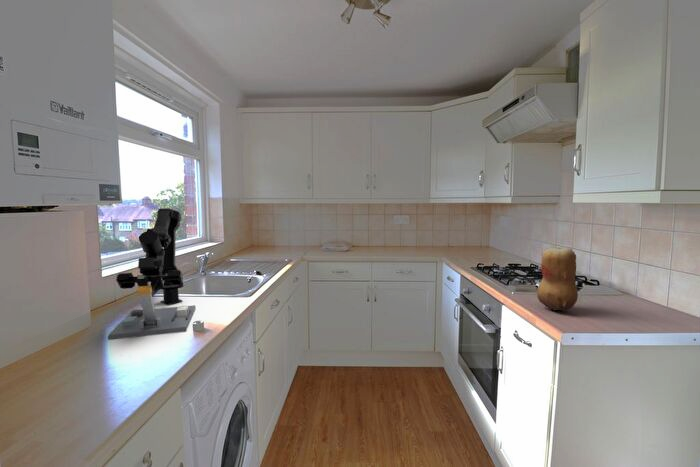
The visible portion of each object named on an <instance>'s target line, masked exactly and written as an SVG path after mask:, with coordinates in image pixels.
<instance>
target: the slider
mask: <svg viewBox="0 0 700 467" xmlns="http://www.w3.org/2000/svg"><path fill="white" fill-rule="evenodd" d="M185 316H187V308H180V309H177V317H185Z"/></svg>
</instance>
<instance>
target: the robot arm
mask: <svg viewBox="0 0 700 467" xmlns="http://www.w3.org/2000/svg"><path fill="white" fill-rule="evenodd" d="M156 216H157V217H156V220H155V222H154V226H153V227H152V228H146V231H143V232H142V233H140V234H139V236H138V242H139V243H140V247H141V249H142V251H143V252H144V253H145V257H141V258H140V257H139V258H138V265H137V266H138V267H137V268H138V269H139V273H140V274H137V276H134V275H133V272H120V273H118V274H117V275H116V278H115V281H116V282H117V285H118V286H119V288H120V289H123V290H126V289H133V288H134V287H136V284H137V287H138V286H151V287H152V293H151V294H152V299H153V298H154V296H155V295H156V294H157V293H158V292H159V291H160V290H162V291H163V292H162V294H163V300H160V303H161V304H164V305H166V306H169V305H172V304H178V303H181V302H183V300H182V299H180V297H179V294H180V293H179V289H181V288H184V277H183V276H184V275H183V274H182V271H181V270H180V269H178V267H177V266H176V236H177V234H176V232H177V231H178V229H179V228H180V224H181V222H182V214H181V212H180V211H178V210H175V209H173V208H170V207H169V208H168V207H167V208H166V207H165V208H163V207H162V208H158V209H157V211H156ZM149 283H150V284H149Z"/></svg>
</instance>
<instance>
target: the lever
mask: <svg viewBox="0 0 700 467" xmlns="http://www.w3.org/2000/svg"><path fill="white" fill-rule="evenodd" d="M136 293H137V296H138V297H139V300H140V305H141V310H143V315H144V319H145V321H144V326H152V325H157V319H156V314H155V309H156V308H155V306H154V301H153V300H154V299H153V298H152V294H151V293H152V287H151V286H150V285H149V286H138V285H137V288H136Z"/></svg>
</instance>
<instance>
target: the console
mask: <svg viewBox="0 0 700 467" xmlns="http://www.w3.org/2000/svg"><path fill="white" fill-rule="evenodd" d="M180 308H187V316H185V317H177V309H180ZM154 309H155V314H156V319H157V325H152V326H144V321H145V319H144V315H143V310H142V308H141V309H139V308H138V309H135V310H134V309H133V310H131V311H130V312H129V313H128V314H127V315H126V316H125V318H123V320H121V321H120V322H119V323H118V324H117V325H116V326H115V327H114V329H112V330H111V332H110V333H108V335H107V336H108V340H116V339H118V340H119V339H126V338H134V337H136V338H137V337H143V336H153V335H154V336H155V335H163V334H171V333H180V332H187V330H188V328H189V325H190V323H191V321H192V319H193V317H194V314H195V311H196V305H179V306H173V307H164V308H163V307H161V308H154Z"/></svg>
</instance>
